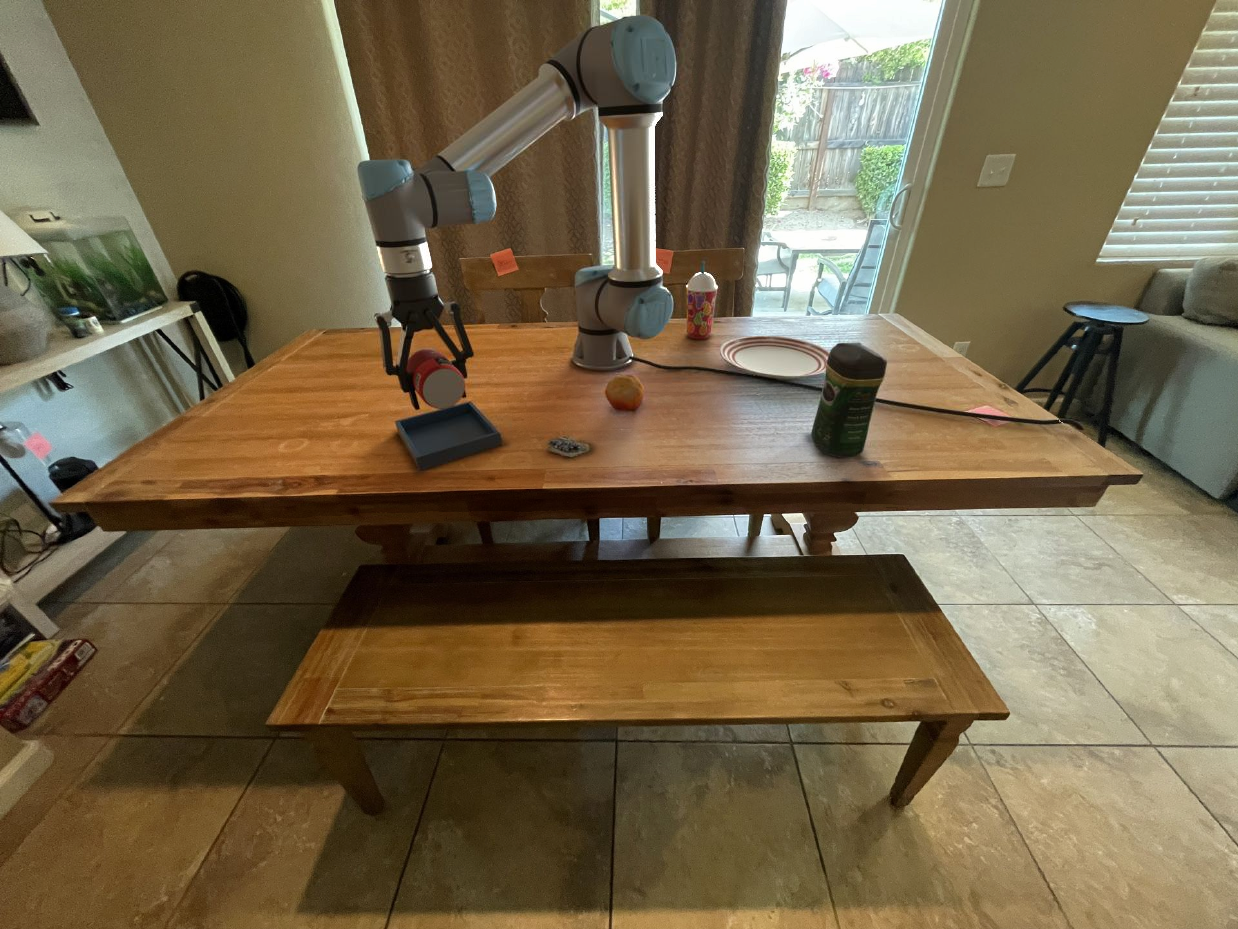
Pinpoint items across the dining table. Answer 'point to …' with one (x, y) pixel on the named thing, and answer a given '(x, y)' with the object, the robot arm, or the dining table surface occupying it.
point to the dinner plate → (775, 356)
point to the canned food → (435, 378)
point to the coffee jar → (847, 399)
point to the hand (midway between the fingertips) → (439, 400)
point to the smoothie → (700, 304)
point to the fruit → (625, 393)
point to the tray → (447, 434)
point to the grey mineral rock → (567, 447)
